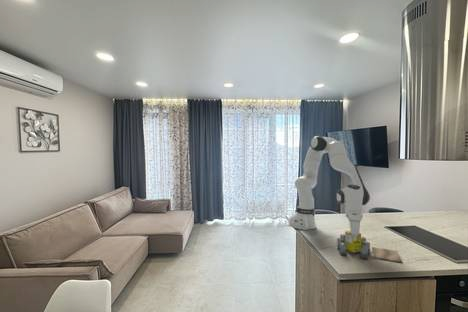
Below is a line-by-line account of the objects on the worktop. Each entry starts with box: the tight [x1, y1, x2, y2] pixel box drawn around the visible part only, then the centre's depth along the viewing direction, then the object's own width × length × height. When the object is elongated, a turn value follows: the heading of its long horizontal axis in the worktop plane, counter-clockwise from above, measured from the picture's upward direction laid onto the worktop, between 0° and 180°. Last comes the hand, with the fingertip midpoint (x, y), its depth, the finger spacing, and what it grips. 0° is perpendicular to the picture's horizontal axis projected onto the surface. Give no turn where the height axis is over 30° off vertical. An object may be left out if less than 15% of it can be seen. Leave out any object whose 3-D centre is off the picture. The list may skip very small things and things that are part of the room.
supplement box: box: [344, 230, 362, 255], centre depth 130 cm, size 6×6×11 cm
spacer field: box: [336, 233, 371, 261], centre depth 130 cm, size 17×18×6 cm
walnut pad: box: [371, 246, 403, 264], centre depth 124 cm, size 12×14×1 cm
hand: (354, 237), depth 129 cm, fingers open, 8 cm apart
